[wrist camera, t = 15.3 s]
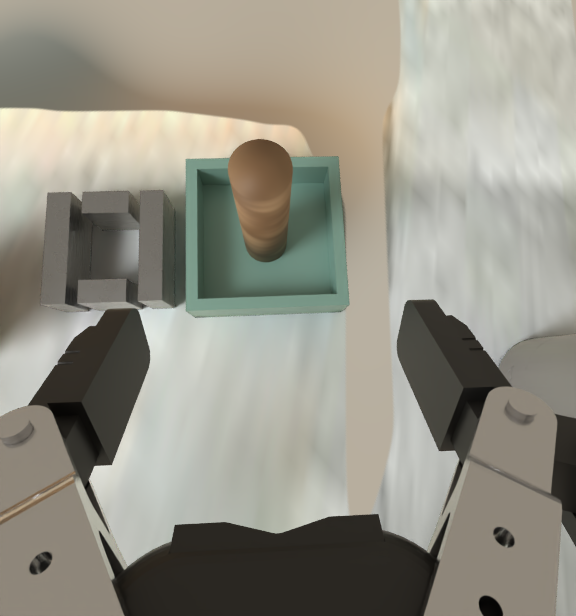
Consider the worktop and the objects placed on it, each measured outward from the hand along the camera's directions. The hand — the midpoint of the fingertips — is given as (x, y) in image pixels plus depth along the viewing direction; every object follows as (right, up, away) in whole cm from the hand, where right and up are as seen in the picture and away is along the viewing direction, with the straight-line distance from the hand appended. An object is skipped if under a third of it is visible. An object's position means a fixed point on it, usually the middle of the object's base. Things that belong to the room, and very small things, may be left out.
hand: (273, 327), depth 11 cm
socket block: (-16, +5, +24) cm, 29 cm away
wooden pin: (-2, +7, +24) cm, 25 cm away
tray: (-2, +7, +25) cm, 26 cm away
